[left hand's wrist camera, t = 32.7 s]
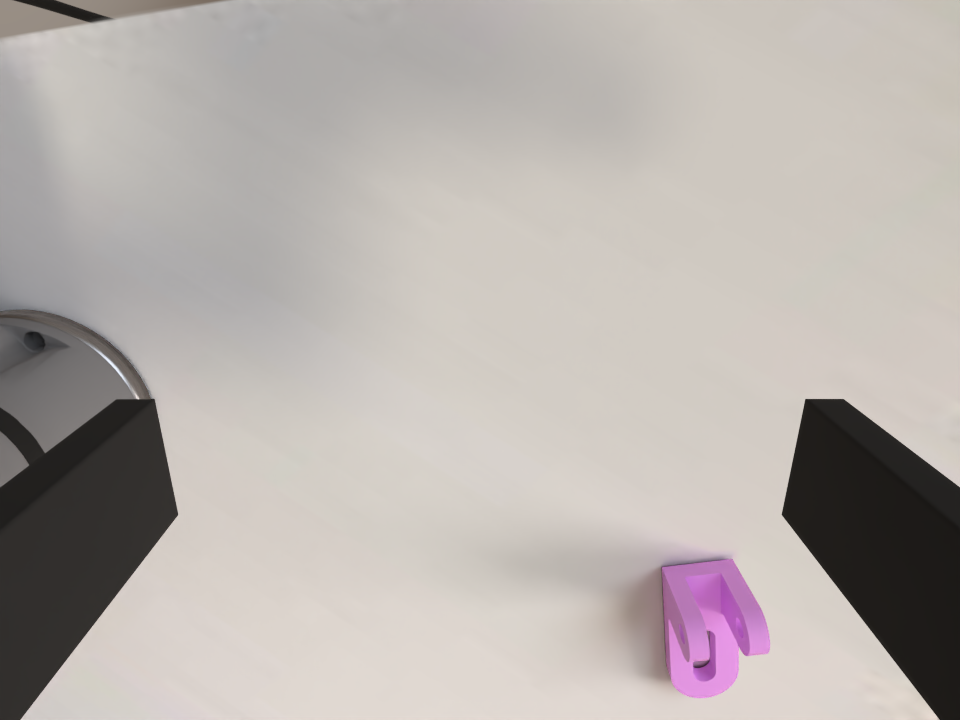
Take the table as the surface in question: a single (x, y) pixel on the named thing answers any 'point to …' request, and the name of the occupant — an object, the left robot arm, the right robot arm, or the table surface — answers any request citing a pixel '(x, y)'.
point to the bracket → (709, 625)
